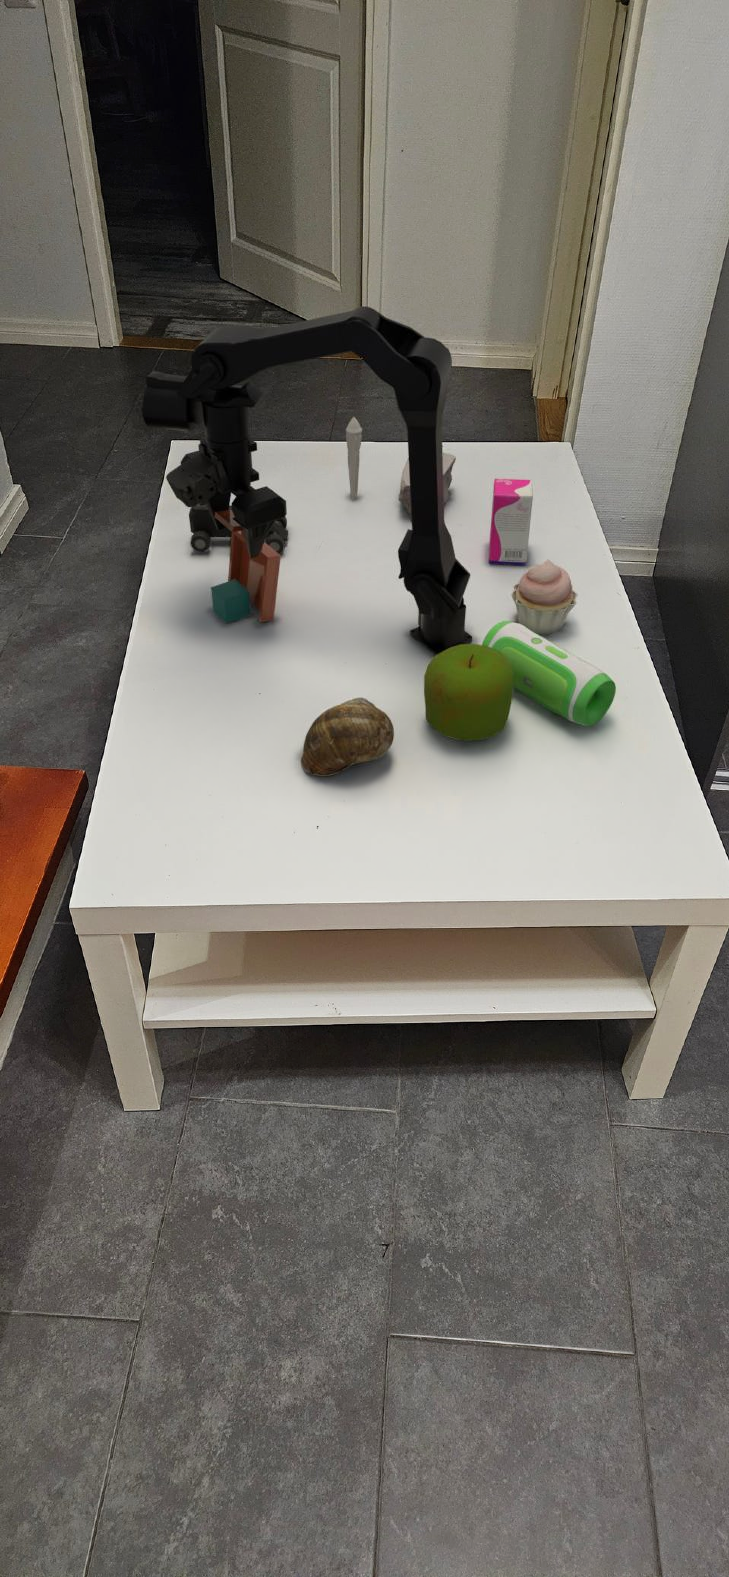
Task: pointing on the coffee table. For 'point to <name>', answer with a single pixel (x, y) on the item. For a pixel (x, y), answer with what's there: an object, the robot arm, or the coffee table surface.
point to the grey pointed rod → (353, 454)
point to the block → (230, 601)
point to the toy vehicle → (206, 528)
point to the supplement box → (510, 521)
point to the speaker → (553, 674)
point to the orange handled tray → (252, 568)
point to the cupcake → (544, 598)
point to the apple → (468, 692)
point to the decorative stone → (405, 481)
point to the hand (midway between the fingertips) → (237, 542)
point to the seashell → (346, 737)
